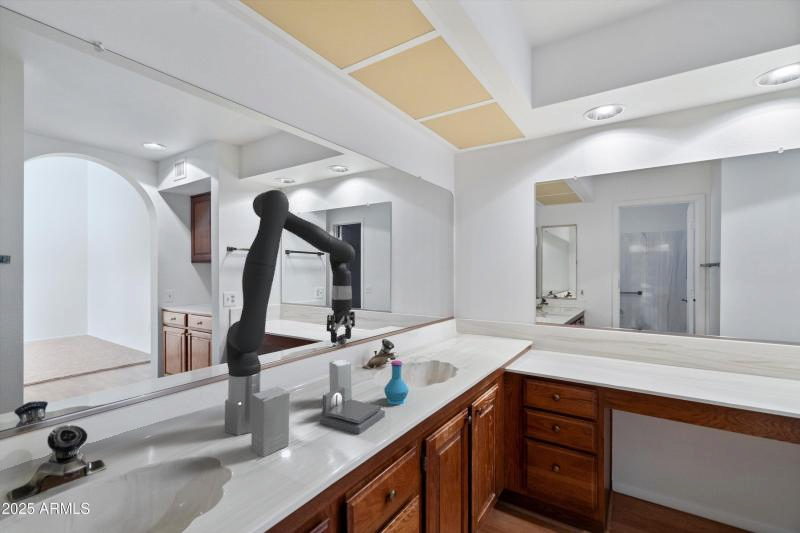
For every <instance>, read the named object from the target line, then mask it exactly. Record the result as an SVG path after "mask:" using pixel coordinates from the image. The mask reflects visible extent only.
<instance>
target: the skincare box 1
mask: <svg viewBox="0 0 800 533" xmlns="http://www.w3.org/2000/svg"><path fill="white" fill-rule="evenodd" d="M290 395H291V393H290V391H288V390H286V389H283V388H282V387H280V386H274V387H271V388H268V389H265V390H263V391H260V392H259V393H255V394H252V432H250V433H251V436H250V437H251V439H250V441H251V443H250V444H251V446H250V447H251V450H252V451H253V452H255V453H256V454H257V455H259V456H260V457H262V458H265V457H266V456H269V455H270V454H273V453H275V452H277V451H279V450H282V449H284V448H286V447H288V446H290V445H289V438H290V434H289V433H290V398H291V397H290Z"/></svg>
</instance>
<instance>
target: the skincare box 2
mask: <svg viewBox="0 0 800 533" xmlns="http://www.w3.org/2000/svg"><path fill="white" fill-rule="evenodd" d="M328 364H329V365H328V366H329V367H328V368H329V392H331V391H334V390H336V389H338V388H340V387H344V388H345V401H347V400H349V399H351V400H353V391H352V390H353V387H352V363H351V362H348V361H346V360H344V359H338V360H332V361H329V363H328Z"/></svg>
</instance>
